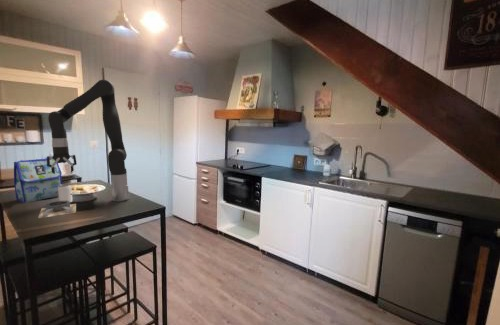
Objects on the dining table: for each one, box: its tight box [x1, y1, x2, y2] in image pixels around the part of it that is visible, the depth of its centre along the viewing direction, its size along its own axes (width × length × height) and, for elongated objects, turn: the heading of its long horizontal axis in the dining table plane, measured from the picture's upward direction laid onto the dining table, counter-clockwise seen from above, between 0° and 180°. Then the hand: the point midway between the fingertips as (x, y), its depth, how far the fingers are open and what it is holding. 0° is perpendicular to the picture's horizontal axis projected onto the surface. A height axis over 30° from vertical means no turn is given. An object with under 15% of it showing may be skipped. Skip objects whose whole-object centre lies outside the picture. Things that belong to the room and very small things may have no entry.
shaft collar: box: [42, 200, 72, 216], centre depth 141 cm, size 12×17×3 cm
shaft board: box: [37, 203, 77, 219], centre depth 141 cm, size 16×18×2 cm
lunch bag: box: [13, 157, 64, 204], centre depth 165 cm, size 22×17×26 cm
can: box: [58, 183, 73, 203], centre depth 155 cm, size 6×6×12 cm
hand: (63, 172), depth 153 cm, fingers open, 8 cm apart
